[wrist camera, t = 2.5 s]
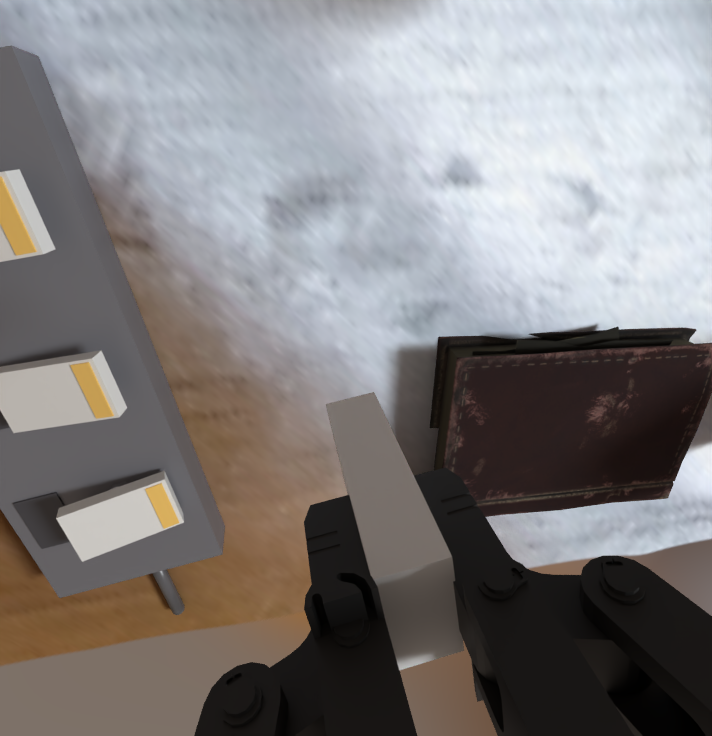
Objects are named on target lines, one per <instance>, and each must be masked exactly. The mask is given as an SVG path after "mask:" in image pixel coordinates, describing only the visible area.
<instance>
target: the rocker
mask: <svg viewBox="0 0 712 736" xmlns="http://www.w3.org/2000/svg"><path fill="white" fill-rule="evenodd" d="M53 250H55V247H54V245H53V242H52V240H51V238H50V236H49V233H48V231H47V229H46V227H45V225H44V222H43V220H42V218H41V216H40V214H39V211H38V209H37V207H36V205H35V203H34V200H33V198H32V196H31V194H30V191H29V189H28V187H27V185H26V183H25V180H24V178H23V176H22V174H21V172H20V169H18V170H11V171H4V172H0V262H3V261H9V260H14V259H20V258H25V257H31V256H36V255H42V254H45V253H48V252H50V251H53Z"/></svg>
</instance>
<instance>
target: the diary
mask: <svg viewBox="0 0 712 736" xmlns="http://www.w3.org/2000/svg"><path fill="white" fill-rule="evenodd" d="M695 331H696V329H690V328H658V329H624V330H619V328H618V327H616V328H612V329H609V330H606V331H591V332H549V333H534V334H530V335H534V336H537V337H541V338H532V339H503V338H495V337H487V336H452V337H439V339H438V349H437V359H436V369H435V379H434V390H433V400H432V410H431V420H430V428H439V430H438V439H437V447H436V456H435V465H434V470H438V469H442V468H445V467H446V468H447V469H449V470H450V471H452V472H453V473H455V474H456V475H458V476H459V477H461V479H462V480H463V482H464V483H465V485H466V487H467V488H468V490H469V492H470V494H471V495H472V496H473V498H474V500H475V501H476V503H477V505H478V507H479V508H480V509H481V511H482V513H483V514H484V516H485V517H488V516H495V515H504V514H516V513H529V512H541V511H553V510H563V509H570V508H577V507H584V506H591V505H598V504H605V503H612V502H627V501H641V500H655V499H666V498H668V496H669V494H670V491H671V489H672V486H673V481H675V479H676V476H677V474H678V471H679V469H680V466H681V463H682V461H683V459H684V457H685V455H686V453H687V451H688V448H689V446H690V444H691V442H692V440H693V438H694V436H695V433H696V431H697V429H698V426H699V424H700V421H701V419H702V416H703V414H704V411H705V409H706V406H707V404H708V401H709V399H710V396H711V393H712V343H703V344H693V343H691V342H689V339H690V337H691V336H692V335H693V334H694V333H695Z"/></svg>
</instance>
